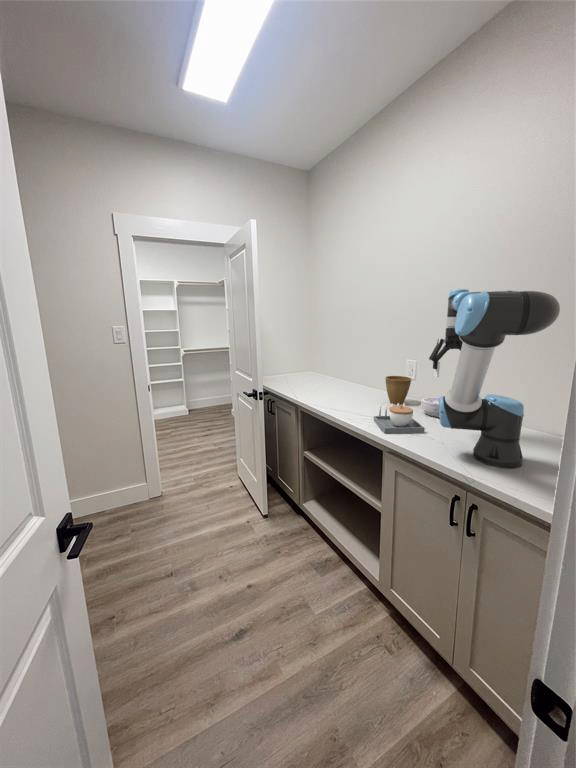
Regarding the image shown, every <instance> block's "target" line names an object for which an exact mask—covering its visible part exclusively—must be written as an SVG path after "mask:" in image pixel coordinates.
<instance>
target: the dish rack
mask: <svg viewBox="0 0 576 768" xmlns="http://www.w3.org/2000/svg"><path fill="white" fill-rule="evenodd" d="M390 404H391V403H390ZM384 406H385V408H384V409H385V410H384V415H382V403H379V408H378V410H379V411H378V412H379V413H378V415H374V416H373V422H374V423H375V424H376V425H377V426H378V427H377V428H379V429H380V431H381V432H383V434H385V435H387V434H425V427H424V426H423V425H422V424H421V423H419V422H418V421H417V420H416V419H414V418H413V417H412V420H411V422H410V423H409V424H408V425H407V426H404V427H401V426H396V425H394V423H393V422H392V421H391V420H390V415H388V403H385V405H384ZM392 406H394V404H391V406H390V407H392ZM396 406H400V405H399V403H397V405H396ZM402 406H405V407H406V403H405V402H404V403H403V404H402Z"/></svg>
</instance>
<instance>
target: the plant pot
mask: <svg viewBox="0 0 576 768" xmlns="http://www.w3.org/2000/svg"><path fill="white" fill-rule="evenodd" d="M384 379H385V389H386V393H387V397H388V401H389V403H390V404H393V405H394V404H395V405H394V406H397V403H399V406H400V405H401V404H402V405H403V403H405V400H406V398H407V395H408V393H409V390H410V388H411V384H412V378H411V377H408V376H402V375H388V376H385V378H384Z"/></svg>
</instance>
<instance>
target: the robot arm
mask: <svg viewBox="0 0 576 768" xmlns="http://www.w3.org/2000/svg"><path fill="white" fill-rule="evenodd" d="M447 300H448V301H447V313H446V315H447V316H446V323H445V325H446V328H445V338H444V339H443V338H438V339H437V342H436V345H435V347H434V348H433V351H432V352H431V354H430V355H429V357H428V359H429V361H431V362H432V369H433V377H436V378H439V377H440V366H441V365H440V364H441V361H439V360H441V359H442V358H443V356H444V355H445V354H446V353H447V352H448V351H450V350H459V351H460V352H459V357H458V361H457V365H456V368H455V373H454V376H453V382H452V385H451V388H450V389H449V390H448V391H447V392H446V393H445V395H444V396H439V397H438V398H439V415H440V417H439V424H440V425H441V427H443V428H448V429H451V430H452V429H453V430H456V429H457V430H466V431H467V430H468V431H480V437H478V439H477V442H475V443H476V444H475V446H474V447H473V451H472V456H473V457H474V459H476V460H477V461H479V462H481V463H484V464H486V465H489V466H493V467H496V468H497V467H498V468H503V469H515V468H516V469H517V468H521V467H522V465H523V462H524V457H523V452H522V450H521V443H520V439H521V432H522V425H523V419H524V416H525V415H524V413H525V412H524V409H525V407H524V404H523V403H522V402H521V401H519V400H517V399H515V398H512V397H509V396H505V395H504V396H503V395H498V394H485V396H484V398H482V397H481V396H480V394H481V390H482V388H483V386H484V385H483V384H484V382H485V380H486V379H485V378H486V376H487V372H488V370H489V366H490V363H491V361H492V357H493V355H494V351H495V349H496V348H497V347H500V346H501V345H503V343H504V341H505V339H506V336H527V335H532V334H533V335H534V334H536V333H539V332H542V331H544V330H545V329H546V330H547V328H549V327H550V326H551V325H553V324H554V323H555V322H556V320H558V318H559V314H560V311H561V306H560V303H559V301H558V299H557V298H556V297H555V296H554V295H552V294H550V293H547V292H543V291H535V290H524V291H519V290H511V289H510V290H499V291H496V290H495V291H470V290H469V289H466V288H464V289H463V288H461V289H460V288H459V289H457V288H456V289H452V290H450V291H449V293H448V298H447ZM443 345H444V346H443ZM441 348H442V349H441Z"/></svg>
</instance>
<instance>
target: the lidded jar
mask: <svg viewBox="0 0 576 768" xmlns="http://www.w3.org/2000/svg"><path fill="white" fill-rule="evenodd" d="M388 410H389V413H388V414H389V415H388V416H390V420H391V421H392V422H393V423H394V425H396V426H401V427H404V426H407V425H408V424H409V423H410V422H411V420H412V418H413V416H414V415H413V414H414V409H413V408H412V407H409V406H406V405H405V406H403V404H402V405H399V406H397V405H393V406H392V407H391V406H390V407H389V409H388Z"/></svg>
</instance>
